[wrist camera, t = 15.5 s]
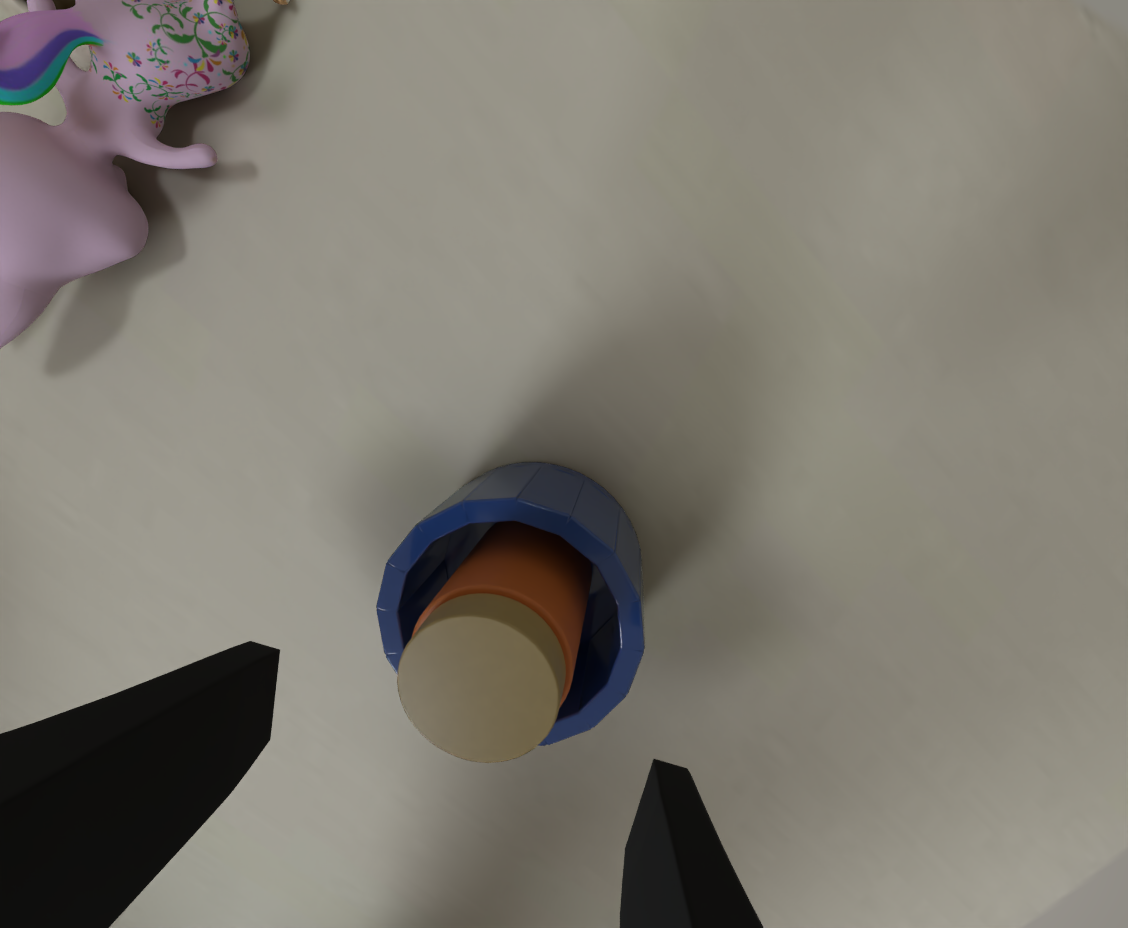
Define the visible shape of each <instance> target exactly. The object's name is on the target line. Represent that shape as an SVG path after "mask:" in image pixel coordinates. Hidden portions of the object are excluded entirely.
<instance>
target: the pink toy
mask: <svg viewBox="0 0 1128 928" xmlns="http://www.w3.org/2000/svg"><path fill="white" fill-rule="evenodd" d="M273 1H274V2H275V3H278V4H280V5H283V4H287V5H288V3H289V2H290V0H273ZM27 4H28V9H29V12H27V13H22V14H18V15H15V16H12V17H9V18H7V19H5V20H3V21H1V22H0V105H23V104H28V103H31V102H34V101H36V100H38V99H40V98H41V97H43V96H44V95H46V94H47V93H48V92H49V91H50V90H51V89H52V88H53V87H54V86H55V85H56V87H57V89H58V91H59V92H60V94H61V96H62V98H63V100H64V103H65V106H66V109H67V116H66V119H65V121H64V122H63V123H62V124H61V125H58V126H50V125H48V124H47V123H45V122H43V121H41V120H39V119H36V118H33V117H31V116H28V115H23V114H19V113H12V112H0V348H2V347H3V346H4V345H6V344H7V343H9V342H10V341H12V340H13V339H14V338H16V337H17V336H18V335H19V334H20V333H21V332H23V331H24V330H25V329H26V328H28V327H29V326H30V325H31V324H32V323H33V322H34V321H35V320H36V319H37V318H38V317H39V316H40V314H41V313H42V312H43V311H44V309H45V308H46V307H47V305H48V304H49V302H50V301H51V299H52V298H53V296H54V295H55V293H56V292H57V291H58V290H59V289H60V288H61V287H62V286H63V285H65V284H67V283H68V282H71V281H73V280H75V279H78V278H80V277H83V276H86V275H89V274H92V273H95V272H97V271H100V270H103V269H105V268H108V267H110V266H113V265H115V264H117V263H119V262H122V261H124V260H127V259H129V258H132V257H134V256H136V255H137V254H138V253H139V252H140V251H141V250H142V249H143V247H144V246H145V243H146V241H147V237H148V221H147V218H146V216H145V214H144V212H143V210H142V208H141V207H140V205H139V204H138V203H137V201H136V200H135V199H134V198H133V197H132V196H131V195H130V193H129V192H128V189H127V179H126V176H125V173H124V171H123V170H122V169H121V168H120V167H118V166H116V165H114V164H112V161H113V159H114V157H115V156H116V155H122V156H125V157H128V158H131V159H133V160H135V161H138V162H141V163H144V164H149V165H153V166H158V167H164V168H170V169H191V168H206V167H210V166H213V165H215V163H216V162H217V154H216V152H215V150H214V149H213V148H212V147H210V146H208V145H206V144H201V143H199V144H193V145H190V146H188V147H184V148H174V147H170V146H167V145H165V144H163V143H161V142H159V141H158V140H157V139H156V138H157V137H158V135H159V134H160V132H161V130H162V128H163V125H164V121H165V117H166V114H167V112H168V110H169V109H170V108H171V107H172V106H173V105H175V104H177V103H179V102H182V101H186V100H190V99H194V98H197V97H200V96H204V95H208V94H211V93H214V92H218V91H221V90H224V89H226V88H229V87H231V86H233V85H234V84H235V83H237V82H238V81H239V80H240V79H241V78H242V77H243V75H244V74H245V72H246V70H247V67H248V65H249V61H250V49H249V44H248V40H247V37H246V35H245V33H244V30H243V28H242V26H241V24H240V22H239V19H238V16H237V12H236V8H235V4H234V0H76V5H75V6H74V7H72V8H69V9H65V10H56V8H55V5H54V3H53V1H52V0H27ZM81 45H89V49H90V54H91V66H90V69H89V70H88V71H87V72H85V71H83V70H81V69H80V68H79V67H77V65H76V64H75V63H74V62H73V61H72V59H71V58H70V54H71V53H72V51H73V50H74V49H75V48H76V47H78V46H81Z"/></svg>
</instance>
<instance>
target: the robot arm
mask: <svg viewBox="0 0 1128 928" xmlns="http://www.w3.org/2000/svg"><path fill="white" fill-rule="evenodd" d="M279 654H280V650H279V649H276V648H272V647H269V646H266V645H262V644H259V643H255V642H252V641H249V642H246V643H243V644H241V645H238V646H235V647H232V648H230V649H227V650H224V651H222V652H219V653H217V654H214V655H212V656H209V657H207V658H204V659H202V660H199V661H197V662H194V663H192V664H189V665H187V666H184V667H182V668H179V669H177V670H174V671H172V672H169V673H167V674H164V675H162V676H159V677H156V678H154V679H151V680H149V681H146V682H144V683H141V684H139V685H136V686H134V687H131V688H128V689H126V690H123V691H121V692H118V693H116V694H113V695H110V696H108V697H105V698H102V699H99V700H96V701H94V702H91V703H88V704H85V705H83V706H80V707H77V708H74V709H71V710H69V711H66V712H63V713H60V714H58V715H55V716H52V717H49V718H46V719H44V720H41V721H38V722H35V723H32V724H29V725H26V726H23V727H20V728H17V729H14V730H11V731H8V732H5V733H2V734H0V928H109V927H110V926H111V925H112V923H113V922H114V921H115V920H116V919H117V918H118V917H119V916H120V915H121V913H122V912H123V911H124V910H125V909H126V908H127V907H128V906H129V905H130V904H131V903H132V901H133V900H134V899H135V898H136V897H137V896H138V895H139V894H140V893H141V892H142V891H143V889H144V888H145V887H146V886H147V885H148V884H149V883H150V882H151V881H152V880H153V879H154V877H155V876H156V875H157V874H158V873H159V872H160V871H161V870H162V869H163V868H164V867H165V865H166V864H167V863H168V862H169V861H170V860H171V859H172V858H173V857H174V856H175V855H176V853H177V852H178V851H179V850H180V849H181V848H182V847H183V846H184V845H185V844H186V843H187V841H188V840H189V839H190V838H191V837H192V836H193V835H194V834H195V833H196V832H197V830H198V829H199V828H200V827H201V826H202V825H203V824H204V823H205V822H206V820H207V819H208V818H209V817H210V816H211V815H212V814H213V813H214V812H215V811H216V809H217V808H218V807H219V806H220V805H221V804H222V803H223V802H224V800H225V799H226V798H227V797H228V796H229V795H230V794H231V792H232V791H233V790H234V788H235V787H236V786H237V785H238V783H239V782H240V781H241V779H242V778H243V777H244V775H245V774H246V773H247V771H248V770H249V769H250V767H251V766H252V764H253V763H254V762H255V760H256V759H257V757H258V756H259V755H260V753H261V752H262V750H263V749H264V748H265V746H266V745H267V743H268V742H269V741H270V737H271V728H272V719H273V709H274V700H275V691H276V682H277V673H278V663H279ZM620 928H764V927H763V926H762V924H761V922H760V920H759V918H758V916H757V914H756V912H755V910H754V908H753V907H752V905H751V903H750V901H749V899H748V897H747V895H746V893H745V891H744V889H743V887H742V885H741V883H740V881H739V879H738V877H737V875H736V873H735V871H734V869H733V867H732V865H731V863H730V860H729V858H728V856H727V854H726V852H725V850H724V848H723V846H722V844H721V841H720V839H719V837H718V835H717V833H716V830H715V828H714V826H713V824H712V822H711V819H710V817H709V815H708V813H707V810H706V808H705V806H704V804H703V801H702V799H701V797H700V794H699V792H698V790H697V787H696V785H695V783H694V781H693V778H692V776H691V774H690V772H689V771H688V769H687V768H684V767H680V766H677V765H673V764H670V763H666V762H663V761H660V760H656V759H654V760H653V763H652V766H651V769H650V772H649V775H648V778H647V781H646V785H645V788H644V791H643V794H642V797H641V800H640V803H639V807H638V810H637V813H636V816H635V819H634V822H633V825H632V828H631V832H630V835H629V838H628V841H627V844H626V847H625V857H624V869H623V880H622V893H621V907H620Z"/></svg>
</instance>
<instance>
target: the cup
mask: <svg viewBox="0 0 1128 928" xmlns="http://www.w3.org/2000/svg"><path fill="white" fill-rule="evenodd" d="M506 521H517V522H520V523H523V524H526V525H529V526H532V527H535V528H538V529H541V530H544V531H547V532H550V533H553V534H556V535H559V536H561V537H562V538H563V539H564V540H566V541H567V542H568V543H569V544H570V545H572V546H573V547H574V548H575V549H576V550H578V551H579V552H580V553H581V554H583V555H584V556H585V557H586V558H587V559H589V560H590V562H591V568H592V579H591V586H590V591H589V596H588V601H587V607H586V612H585V617H584V622H583V627H582V632H581V638H580V643H579V648H578V653H577V658H576V663H575V669H574V674H573V679H572V683H571V687H570V690H569V692H568V695H567V697H566V699H565V700H564V702H563V704H562V705H561V707H560V708H559V712H558V716H557V719H556V721H555V723H554V726H553V728H552V729H551V731H550V732H549V734H548V735H547V736H546V738H545V739H544V740H543V741H542V742H541V743H540V744H539V745H537V746H545V745H550V744H553V743H556V742H559V741H561V740H564V739H567V738H569V737H572V736H575V735H577V734H580V733H583V732H585V731H588V730H590V729H591V728H593V727H595V726H596V725H597V724H598V723H599V722H600V721H601V720H602V719H603V718H604V717H605V716H606V715H607V714H608V713H609V712H611V711H612V710H613V709H614V708H615V707H616V706H617V705H618V704H619V703H620V702H621V701H622V700H623V699H624V698H625V697H626V695H627V694H628V693H629V690H630V687H631V685H632V682H633V680H634V677H635V674H636V672H637V669H638V667H639V664H640V661H641V659H642V656H643V654H644V649H645V637H644V593H643V575H642V558H641V549H640V545H639V542H638V539H637V535H636V532H635V530H634V528H633V526H632V523H631V521H630V520H629V518H628V516H627V515H626V513H625V511H624V510H623V508H622V507H621V506H620V505H619V504H618V502H617V501H616V500H615V499H614V498H613V497H612V496H611V495H610V494H609V493H608V492H607V491H606V490H605V489H604V488H603V487H601V486H600V485H599V484H597V483H596V482H594V481H593V480H592V479H590V478H588V477H586V476H584V475H583V474H581V473H579V472H576V471H574V470H571V469H569V468H566V467H562V466H558V465H554V464H549V463H541V462H522V463H515V464H509V465H505V466H502V467H498V468H495V469H493V470H491V471H488V472H486V473H484V474H482V475H481V476H479V477H477V478H476V479H474V480H473V481H471V482H470V483H468V484H466V485H464V486H462V487H461V488H460V489H459V490H457V491H456V492H455V493H454V494H453V495H451V496H450V497H449V498H448V499H446V500H445V501H444V502H443V503H442V504H440V505H439V506H438V507H437V508H436V509H434V510H433V511H432V512H431V513H430V514H428V515H427V516H426V517H425V518H423V519H422V520H421V521H420V522H419V523H417V524H416V525H415V526H414V528H413V529H412V530H411V531H410V533H409V534H408V535H407V536H406V538H405V539H404V540H403V542H402V543H401V544H400V545H399V547H398V548H397V549H396V550H395V552H394V553H393V554H392V556H391V557H390V558H389V559H388V562H387V563H386V567H385V571H384V575H383V580H382V584H381V588H380V593H379V597H378V601H377V606H376V608H377V615H378V621H379V626H380V631H381V637H382V642H383V648H384V653H385V654H386V658H387V659H388V661H389V663H390V664H391V666H392V667H393V669H394V671H395V672H396V674H397V675H398V667H399V661H400V658H401V655H402V653H403V651H404V649H405V647H406V645H407V644H408V642H409V641H410V639H411V638H412V634H413V631H414V628H415V625H416V623H417V621H418V619H419V617H420V616H421V614H422V613H423V612H424V610H425V609H426V607H427V606H428V605H429V604H430V602H431V601H432V600H433V599H434V597H435V596H436V595H437V594H438V592H439V591H440V590H441V589H442V587H443V586H444V585H445V584H446V582H447V581H448V580H449V579H450V577H451V576H452V575H453V573H454V572H455V571H456V570H457V568H458V567H459V566H460V565H461V563H462V562H463V561H464V560H465V558H466V557H467V556H468V555H469V553H470V552H471V551H472V550H473V548H474V547H475V546H476V545H477V543H478V542H479V541H480V540H481V538H482V537H483V536H484V534H485V533H486V532H487V531H488V530H489V529H490V528H491V527H492V526H494V525H495V524H496V523H498V522H506Z"/></svg>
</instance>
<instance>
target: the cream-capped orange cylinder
mask: <svg viewBox="0 0 1128 928" xmlns="http://www.w3.org/2000/svg"><path fill="white" fill-rule="evenodd" d="M591 579H592V568H591V562H590V560H589V559H587V558H586V557H585V556H584V555H583V554H581V553H580V552H579V551H578V550H576V549H575V548H574V547H573V546H572V545H570V544H569V543H568V542H567V541H566V540H564V539H563V538H562V537H561V536H559V535H556V534H553V533H550V532H547V531H544V530H541V529H538V528H535V527H532V526H529V525H526V524H523V523H520V522H517V521H506V522H498V523H496V524H495V525H494V526H492V527H491V528H490V529H489V530H488V531H487V532H486V533H485V534H484V536H483V537H482V538H481V540H480V541H479V542H478V543H477V545H476V546H475V547H474V548H473V550H472V551H471V552H470V553H469V555H468V556H467V557H466V558H465V560H464V561H463V562H462V563H461V565H460V566H459V567H458V568H457V570H456V571H455V572H454V573H453V575H452V576H451V577H450V579H449V580H448V581H447V582H446V584H445V585H444V586H443V587H442V589H441V590H440V591H439V592H438V594H437V595H436V596H435V597H434V599H433V600H432V601H431V602H430V604H429V605H428V606H427V607H426V609H425V610H424V612H423V613H422V614H421V616H420V617H419V619H418V621H417V623H416V625H415V628H414V631H413V634H412V638H411V639H410V641H409V642H408V644H407V645H406V647H405V649H404V651H403V653H402V655H401V658H400V661H399V667H398V676H397V683H398V692H399V696H400V700H401V703H402V705H403V708H404V710H405V712H406V714H407V716H408V718H409V719H410V721H411V722H412V723H413V725H414V726H415V728H416V729H417V730H418V731H419V732H420V733H421V734H422V735H423V736H424V737H425V738H426V739H427V740H428V741H430V742H431V743H432V744H434V745H435V746H437V747H438V748H440V749H441V750H443V751H445V752H447V753H449V754H451V755H454V756H456V757H459V758H462V759H465V760H470V761H475V762H485V763H491V762H502V761H508V760H511V759H514V758H517V757H520V756H522V755H524V754H526V753H528V752H529V751H531V750H532V749H534V748H535V747H536V746H537V745H539V744H540V743H541V742H542V741H543V740H544V739H545V738H546V736H547V735H548V734H549V732H550V731H551V729H552V728H553V726H554V723H555V721H556V719H557V716H558V712H559V708H560V707H561V705H562V704H563V702H564V700H565V699H566V697H567V695H568V692H569V690H570V687H571V683H572V679H573V674H574V669H575V663H576V658H577V653H578V648H579V643H580V638H581V632H582V627H583V622H584V617H585V612H586V607H587V601H588V596H589V591H590V586H591Z"/></svg>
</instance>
